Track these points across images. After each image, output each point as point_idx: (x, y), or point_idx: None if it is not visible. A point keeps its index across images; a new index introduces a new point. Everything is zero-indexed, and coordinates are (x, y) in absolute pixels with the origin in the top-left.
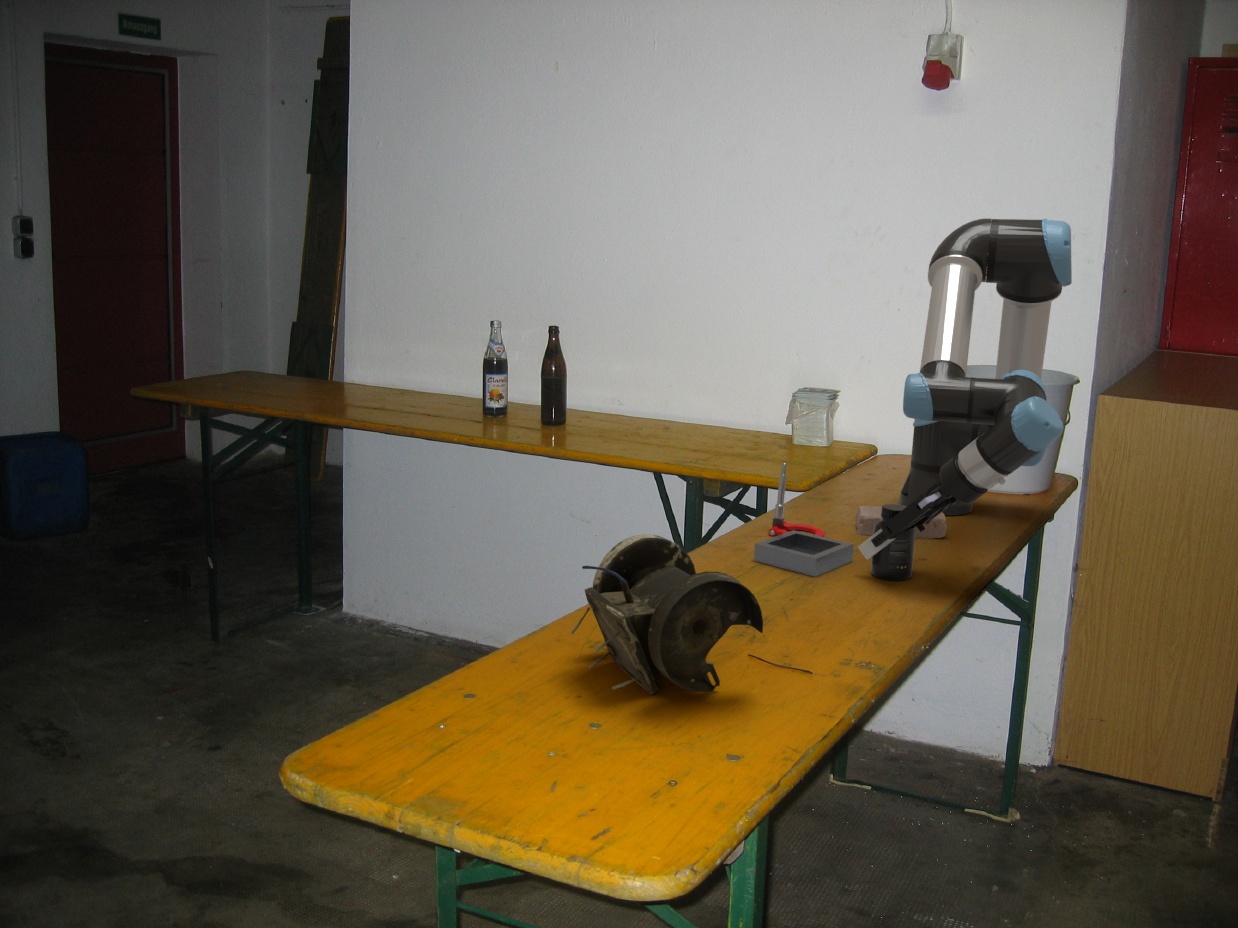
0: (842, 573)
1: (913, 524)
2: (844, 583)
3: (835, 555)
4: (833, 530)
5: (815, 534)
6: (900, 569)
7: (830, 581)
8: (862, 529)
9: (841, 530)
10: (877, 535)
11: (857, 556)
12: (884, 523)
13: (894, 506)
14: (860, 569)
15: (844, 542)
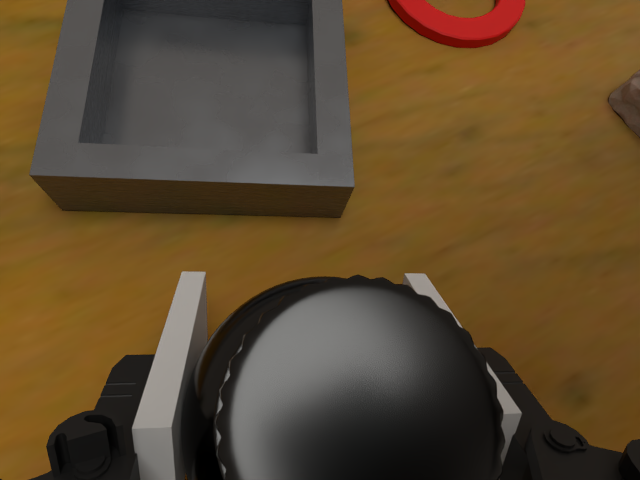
0: (178, 261)
1: (504, 469)
2: (57, 331)
3: (204, 190)
4: (570, 35)
5: (465, 20)
6: None
7: (46, 277)
8: (625, 97)
9: (591, 50)
10: (97, 406)
11: (406, 202)
12: (84, 453)
13: (378, 383)
14: (275, 284)
15: (344, 152)
